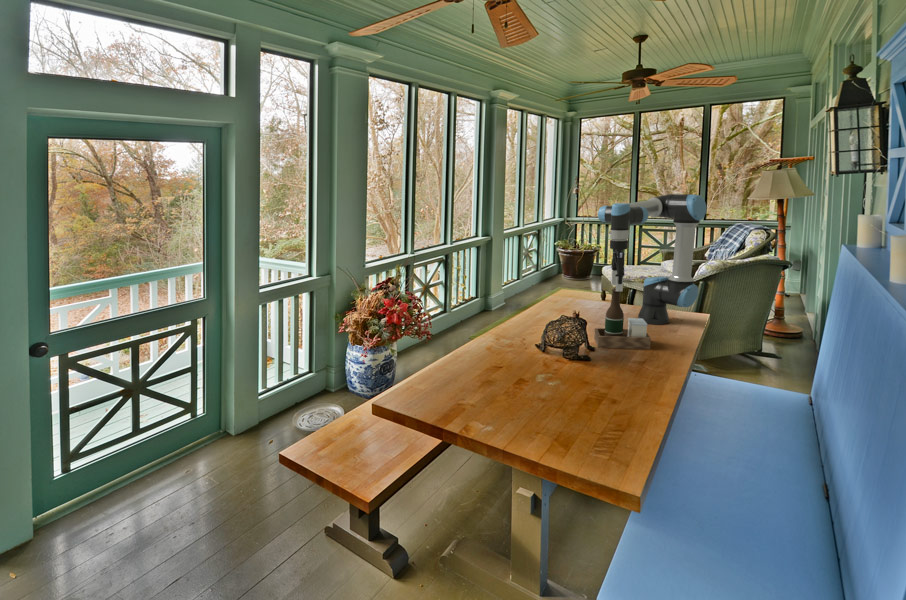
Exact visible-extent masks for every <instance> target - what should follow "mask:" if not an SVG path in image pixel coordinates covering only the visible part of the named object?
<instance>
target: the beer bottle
mask: <svg viewBox="0 0 906 600" xmlns="http://www.w3.org/2000/svg"><path fill="white" fill-rule="evenodd" d="M621 292H622V291H616V287H615V288H612V289H611V300H610V306H609V307H608V308H607V310H606V312H605V320H604V321H605V322H604V328H605V335H604V336H617V337H623V329H624V315H625V314H624V311H623V309H622V308H621Z"/></svg>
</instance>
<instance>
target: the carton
mask: <svg viewBox="0 0 906 600" xmlns="http://www.w3.org/2000/svg"><path fill="white" fill-rule="evenodd" d="M627 320H628V322H627V323H628V324H627V329H628V337H646V333H648V332H647V329H648V328H647V327H648V325H649V324H647V323H646V322H645V321H644V319H641V318H638V317H637V318H635V317H634V318H633V317H628V318H627Z"/></svg>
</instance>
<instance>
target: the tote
mask: <svg viewBox="0 0 906 600" xmlns="http://www.w3.org/2000/svg"><path fill="white" fill-rule="evenodd" d="M593 334H594V337H593V340H594V342H595V344H596V346H597V348H600V349H601V348H603V349H605V348H606V349H633V350H650V349H651V340H652V339H651V336H650V335H649V334H648V332H646V337H628V328H623V337H617V336H604V335H605V327H602V328H599V327H595V328H594V333H593Z"/></svg>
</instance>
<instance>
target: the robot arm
mask: <svg viewBox="0 0 906 600" xmlns="http://www.w3.org/2000/svg"><path fill="white" fill-rule="evenodd" d="M706 214H707V203H706V201H705V199H704V197H702V196H701V195H699V194H685V193H684V194H682V193H681V194H680V193H678V194H676V193H671V194H665V195H664V194H663V195H660V196H659V195H658V196H655V197H650V198H648V200H643V201H636V202H628V203H625V202H624V203H623V202H621V203H619V202H618V203H615V202H614V203H613V204H612V205H602V206H601V207H599V209H598V211H597V218H598V220H599V221H600V222H601V223H606V224H608V223H610V232H609V233H608V235H610V237H609V238H610V241H609V249H611V250H612V251H613V252H612V261H611V286H615V288H616V291H621V292H623V290H624V289H623V288H624V276H625V253H624V252H623V250H627V249H628V247H629V237H630V236H629V235H630V234H629V233H630V226H632V225H642V224H645V223H646V222H647V221H648V218H649V217H650V218H664V219H665V218H666V219H673V222H672V223H673V224H674V225H675V227H676V228H675V238H674V248H673V249H674V250H673V251H674V252H673V260H672V261H673V263H672V273H671V275H670V277H668V276H650V277H646V278H644V279H643V280H644V281H643V286H642V288H643V290H642V292H643V294H642V304H641V305H642V306H641V308H640V311H639V313H638V315H637V318H641V319H644V321H645V322H646V323H647V324H648V325H666V324H668V323H669V322H670V317H669V313H668V309H667V305H671V306H676V307H679V308H689V307H691V306H692V305H694V303H695V302H696V300H697V298H698V297H699V287H698V285H696V284H695V279H694V278H693V277H692V271H693V270H692V269H693V258H694V249H695V239H696V238H695V237H696V228H697V226H698V225H699V224H700V221H701V220H703V219H704V218H705V215H706Z"/></svg>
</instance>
